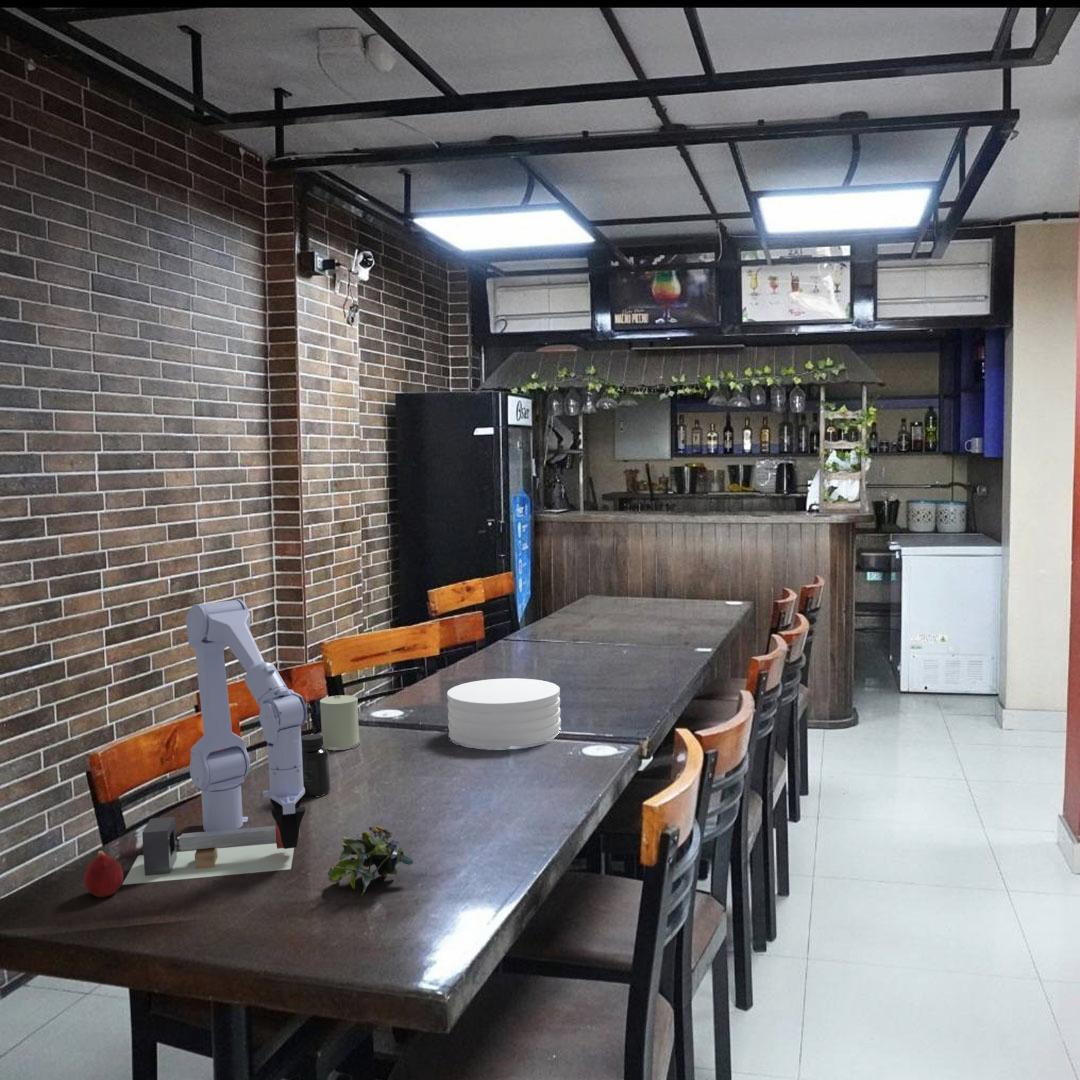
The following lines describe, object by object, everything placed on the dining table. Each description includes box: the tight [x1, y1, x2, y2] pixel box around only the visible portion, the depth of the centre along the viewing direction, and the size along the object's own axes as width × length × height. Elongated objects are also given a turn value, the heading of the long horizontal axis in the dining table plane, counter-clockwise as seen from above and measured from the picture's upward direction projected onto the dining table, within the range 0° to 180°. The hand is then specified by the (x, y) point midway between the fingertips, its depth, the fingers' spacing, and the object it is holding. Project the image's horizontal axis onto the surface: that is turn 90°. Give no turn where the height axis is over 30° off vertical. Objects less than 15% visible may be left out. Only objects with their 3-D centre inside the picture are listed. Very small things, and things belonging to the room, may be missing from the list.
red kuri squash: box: [83, 850, 124, 898], centre depth 169 cm, size 6×6×8 cm
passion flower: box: [327, 826, 414, 897], centre depth 171 cm, size 11×11×12 cm
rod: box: [174, 822, 301, 852], centre depth 182 cm, size 5×21×5 cm, turn 100°
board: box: [121, 842, 295, 886], centre depth 181 cm, size 13×27×1 cm, turn 100°
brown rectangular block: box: [195, 847, 218, 869], centre depth 181 cm, size 5×3×2 cm, turn 10°
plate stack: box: [446, 677, 562, 747], centre depth 262 cm, size 28×28×12 cm
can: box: [319, 694, 360, 747], centre depth 257 cm, size 9×9×12 cm
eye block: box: [142, 816, 178, 876], centre depth 180 cm, size 7×4×7 cm, turn 10°
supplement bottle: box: [301, 733, 331, 798], centre depth 220 cm, size 7×7×12 cm
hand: (289, 841), depth 183 cm, fingers open, 5 cm apart
